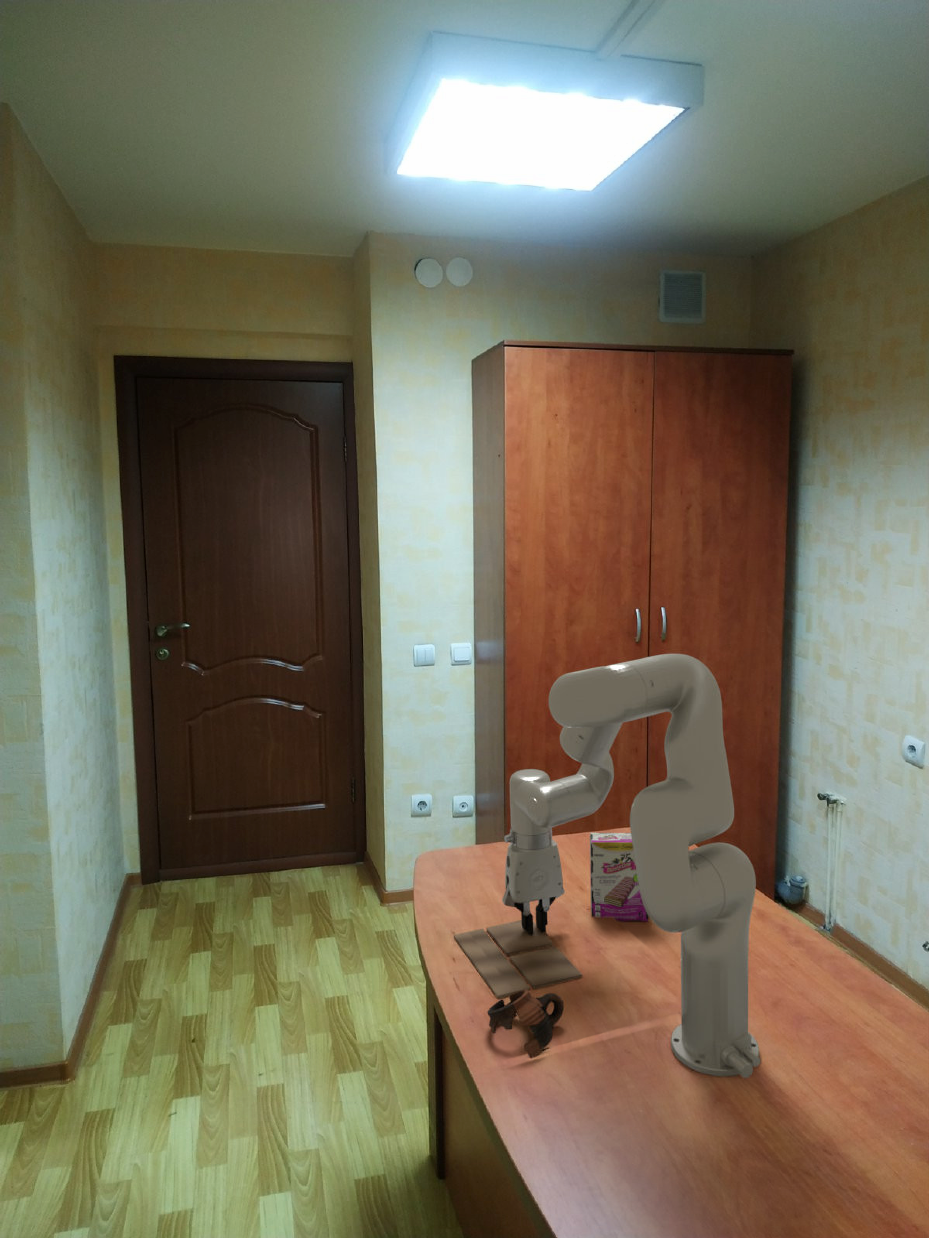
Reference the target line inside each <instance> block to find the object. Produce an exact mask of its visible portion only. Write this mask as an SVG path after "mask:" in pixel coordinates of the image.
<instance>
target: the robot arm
mask: <svg viewBox="0 0 929 1238" xmlns="http://www.w3.org/2000/svg"><path fill="white" fill-rule="evenodd" d="M722 702H723V700H722V695H721V690H720V688H719V685H718V682H717V680H716V678H715V676H714V674H713V673H712V672H711V670H710V669H709V667H707V666H706V665H705V663H703V662H702V661H700V660H699V659H698V658H695V657H694V656H691V655H688V654H684V653H683V654H682V653H664V654H658V655H652V656H647V657H643V658H639V659H634V660H627V661H623V662H619V663H614V664H609V665H606V666H604V665H603V666H597V667H592V668H591V667H590V668H587V669H582V670H578V671H572V672H568V673H565V674H561V676H559V677H558V678H557V679H556V680H555V681H554V682H553V684H552V686H551V687H550V691H549V694H548V709H549V711H550V714H551V716H552V718H553V719H554V721H555V722H556V723H557V724H558V725H560V726H561V727H562V728H561V731H560V734H559V743H560V746H561V748H562V749H563V751H564V752H565V754H566V755H567V756H569V757H570V758H571V759H573V760H575V761H577V762H579V763H581V766H580V767H579V769H578V771H577V773H575V774H573V775H569V776H565V777H562V778H559V779H555V780H552V781H551V779H550V776H549V775H548V773H546V772H545V771H543V770H540V769H535V768H530V769H529V768H528V769H527V768H526V769H520V770H517V771H515V772H514V773H512V774H511V776H510V779H509V810H510V813H509V814H510V829H509V833H508V834H506V835H504V836H503V837H504V842H505V843H506V844H507V843H509V844H508V847H507V852H506V859H505V870H504V887H505V888H504V889H505V892H504V894H503V897H502V900H501V902H502V903H503V904H504V906H506V907H510V908H515V909H517V910H518V911H519V912H520V916H521V917H520V920H522V928H523V929H524V930H526V931H527V933H528V934H529V935H533V922H534V915H533V914H532V912H531V907H530V905H531V904H530V903H531V902H536V901H537V905H535V924H536V926H537V927H538V928H539V929H540V930H541V932H543V933H546V932H547V925H548V912H549V911H550V909H551V908H550V907H551V906H552V904H553V903H554V902H555V900H556V899H558V898H560V897H561V896H562V895H564V894H565V892H566V891H565V889H564V882H563V881H564V880H563V870H562V863H561V857H560V851H559V848H558V843H557V842H556V841H555V840H554V839H553V828H555V827H556V826H561V825H564V824H566V823H569V822H572V821H574V820H578V819H581V818H584V817H587V816H590V815H591V816H592V814H594V813H595V812H597V811H598V810H599V808H601V807H602V804H603V803H604V802H605V800H606V798H607V797H608V794H609V792H610V791H611V788H612V786H613V783H614V779H615V778H614V777H615V772H614V771H615V770H614V763H613V762H614V761H613V759H612V756H611V754H610V750H611V748H612V746H613V744H614V742H615V739H616V737H617V735H618V734H619V731H620V730H621V727H622V725H623V724H624V723H627V722H631V721H635V720H639V719H643V718H647V717H650V716H651V717H652V716H654V715H655V716H656V715H659V714H662V713H667V712H668V713H670V714H671V717H670V720H669V722H668V724H667V728H666V732H665V736H664V755H665V761H666V771H667V775H666V776H667V777H666V778H665V780H663V781H659V782H655V783H652V784H651V785H648V786H647V787H645V788H643V789H641V790H640V791H639V793H637V794H636V796H635V798H634V799H633V800H632V804H631V807H630V808H631V809H630V813H629V828H630V833H631V837H632V843H633V850H634V857H635V863H636V870H637V876H638V883H639V889H640V894H641V898H642V902H643V905H644V907H645V910H646V912H647V914H648V916H649V919H650V920H651V922H653V924H655V926H656V927H658V928H659V929H660V930H662V931H664V932H667V933H673V934H674V933H680V994H681V995H680V999H681V1000H680V1002H681V1005H680V1007H681V1008H680V1009H681V1012H680V1013H681V1014H680V1017H681V1023H680V1024H679V1025H678V1026H676V1027H675V1028H674V1029H673V1031H672V1033H671V1036H670V1046H671V1047H670V1048H671V1051H672V1053H673V1055H674V1056H675V1057H676V1058H677V1060H678V1061H680V1062H681V1063H682V1064H683V1065H684V1066H686V1067H688V1068H690V1069H691V1070H693V1071H696V1072H699V1073H702V1074H705V1075H709V1076H714V1077H733V1076H738V1075H740V1076H741V1077H742V1078H744V1079H747V1078H750V1077H751V1076H752V1074H753V1071H754V1070H753V1068H754V1067H758V1066H759V1065H760V1064H761V1058H760V1046H759V1043H758V1041H757V1040H756V1038H755V1037H754V1036H753V1034H752V1033H751V1032H749V943H750V942H749V937H750V924H751V916H752V911H753V906H754V901H755V897H756V887H757V885H756V884H757V883H756V881H757V880H756V879H757V878H756V874H755V869H754V865H753V864H752V862H751V860H750V858H749V857H748V855H747V854H746V853H745V852H743V850H742V849H740V848H739V847H738V846H735V845H734V844H730V843H728V842H727V843H726V842H712V843H708V844H703V845H701V846H699V847H695V848H693V849H689V848H690V847H692V846H694V845H696V844H699V843H701V842H705V841H707V840H709V839H712V838H714V837H716V836H718V835H721V834H722V833H724V832H726V831H727V830H728V829H730V827H731V826H732V824H733V822H734V818H735V805H734V798H733V790H732V783H731V778H730V771H729V764H728V757H727V756H728V755H727V752H726V746H725V739H724V729H723V725H724V724H723V703H722Z"/></svg>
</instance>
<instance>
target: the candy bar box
mask: <svg viewBox="0 0 929 1238" xmlns="http://www.w3.org/2000/svg"><path fill="white" fill-rule="evenodd" d="M589 859H590V860H589V862H590V863H589V865H590V869H589V870H590V871H589V874H590V875H589V876H590V914H591V917H592V918H613V919H614V920H616V921H617V922H649V921H650V920H649V919H650V917H649V916H648V914H647V912H646V910H645V907H644V905H643V902H642V898H641V894H640V889H639V883H638V876H637V870H636V863H635V857H634V850H633V843H632V837H631V832H589Z"/></svg>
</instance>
